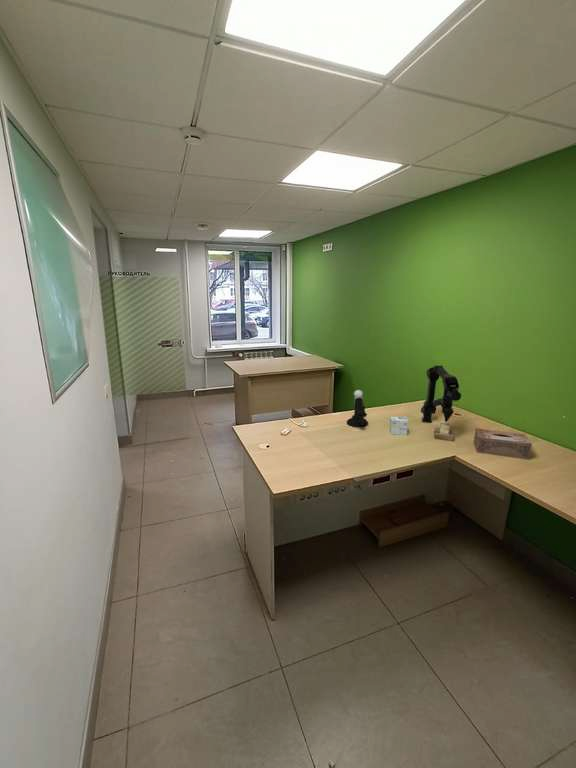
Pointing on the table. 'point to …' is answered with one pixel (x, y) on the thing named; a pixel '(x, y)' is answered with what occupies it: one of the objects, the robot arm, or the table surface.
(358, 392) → the sculpture
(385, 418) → the table surface
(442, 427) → the beige cube
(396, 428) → the light bulb box
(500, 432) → the tissue box cover
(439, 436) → the pedestal
